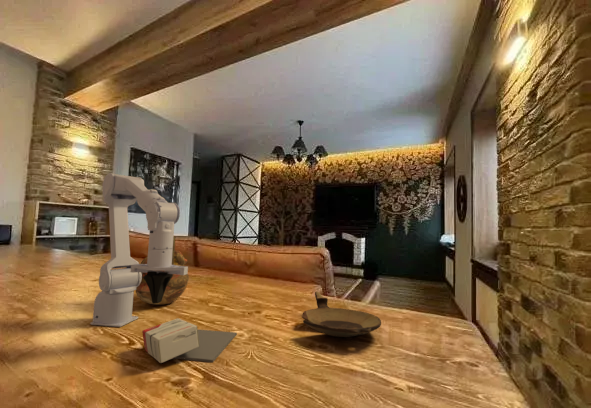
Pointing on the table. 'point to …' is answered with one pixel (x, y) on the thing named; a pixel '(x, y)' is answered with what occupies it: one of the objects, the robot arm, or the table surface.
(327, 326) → the broken handled dish
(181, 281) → the ceramic vessel
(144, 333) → the ink box
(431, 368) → the table surface
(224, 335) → the mat
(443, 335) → the table surface
